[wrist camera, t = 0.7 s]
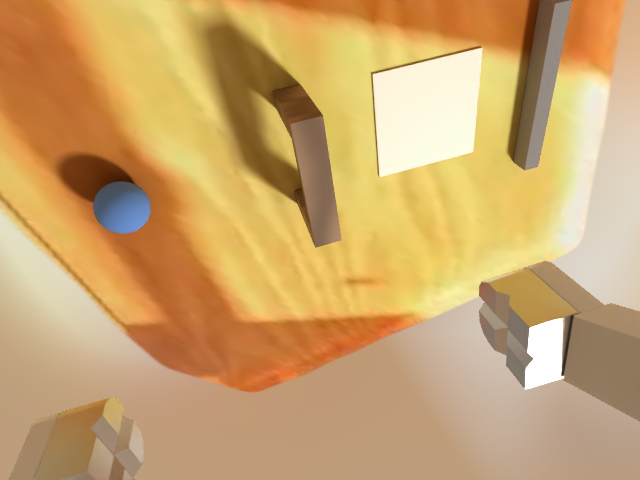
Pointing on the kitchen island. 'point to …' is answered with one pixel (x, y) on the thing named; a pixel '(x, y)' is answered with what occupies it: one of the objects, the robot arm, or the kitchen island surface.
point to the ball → (121, 207)
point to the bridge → (310, 163)
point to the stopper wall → (541, 80)
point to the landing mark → (426, 111)
